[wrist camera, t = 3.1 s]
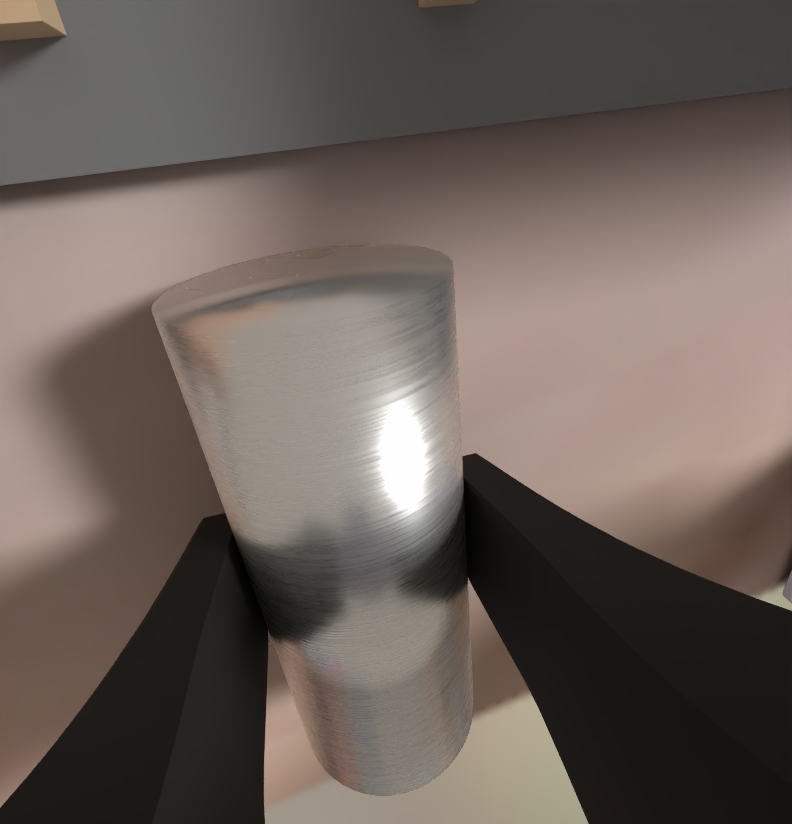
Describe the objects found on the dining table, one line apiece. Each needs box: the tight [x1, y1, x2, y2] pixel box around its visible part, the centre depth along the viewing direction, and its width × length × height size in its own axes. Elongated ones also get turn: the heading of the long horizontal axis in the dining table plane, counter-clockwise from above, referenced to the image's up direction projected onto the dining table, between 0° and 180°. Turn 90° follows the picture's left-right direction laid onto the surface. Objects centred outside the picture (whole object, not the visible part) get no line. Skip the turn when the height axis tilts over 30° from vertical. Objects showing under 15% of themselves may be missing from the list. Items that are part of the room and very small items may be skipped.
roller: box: [151, 244, 474, 796], centre depth 9 cm, size 10×4×4 cm, turn 7°
